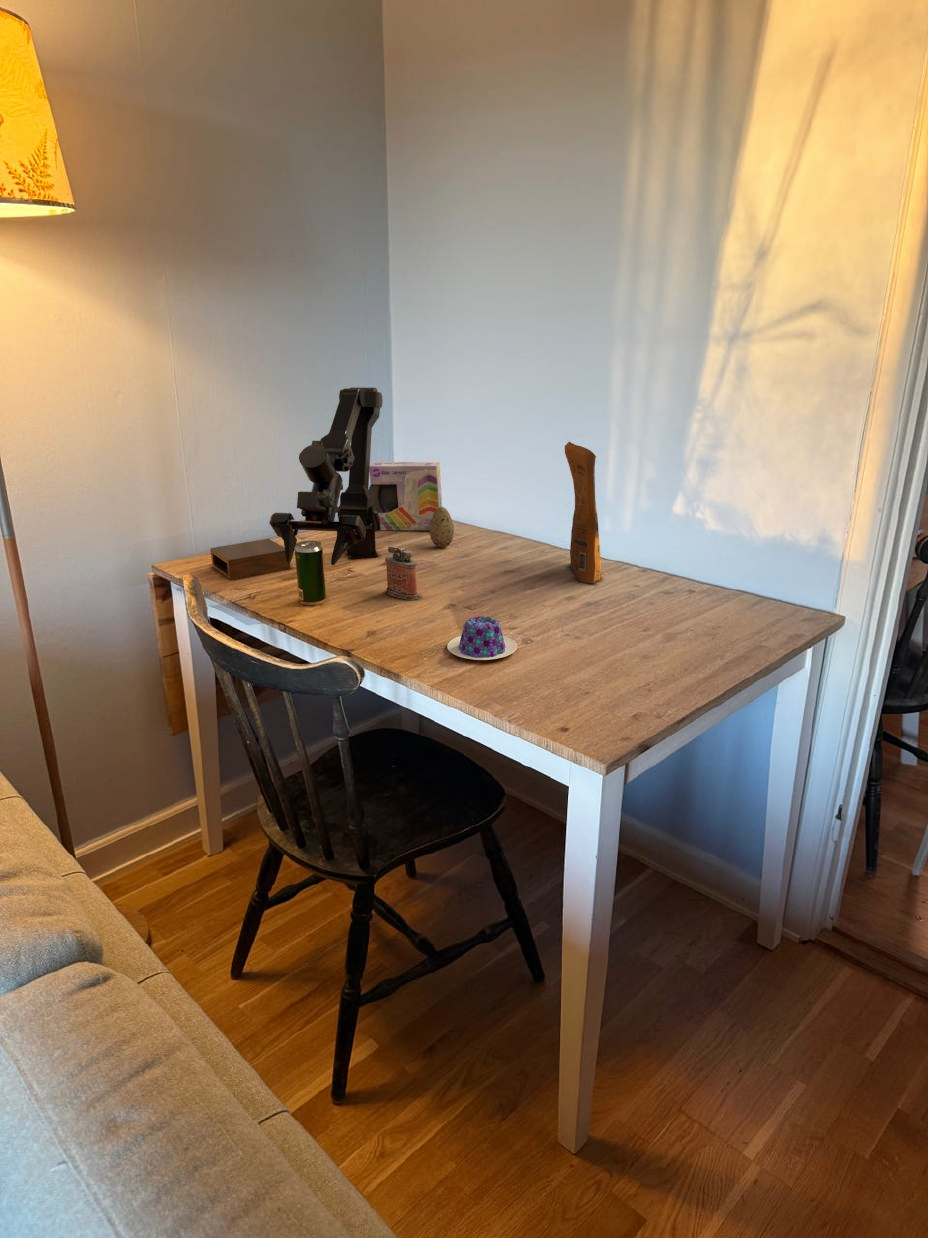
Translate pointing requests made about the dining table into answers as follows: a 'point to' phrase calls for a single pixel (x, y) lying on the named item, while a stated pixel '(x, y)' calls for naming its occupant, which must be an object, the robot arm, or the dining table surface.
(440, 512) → the decorative egg
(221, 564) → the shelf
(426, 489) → the cake pan box
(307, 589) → the beer can
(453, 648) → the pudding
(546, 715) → the dining table surface
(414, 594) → the lighter
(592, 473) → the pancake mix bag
